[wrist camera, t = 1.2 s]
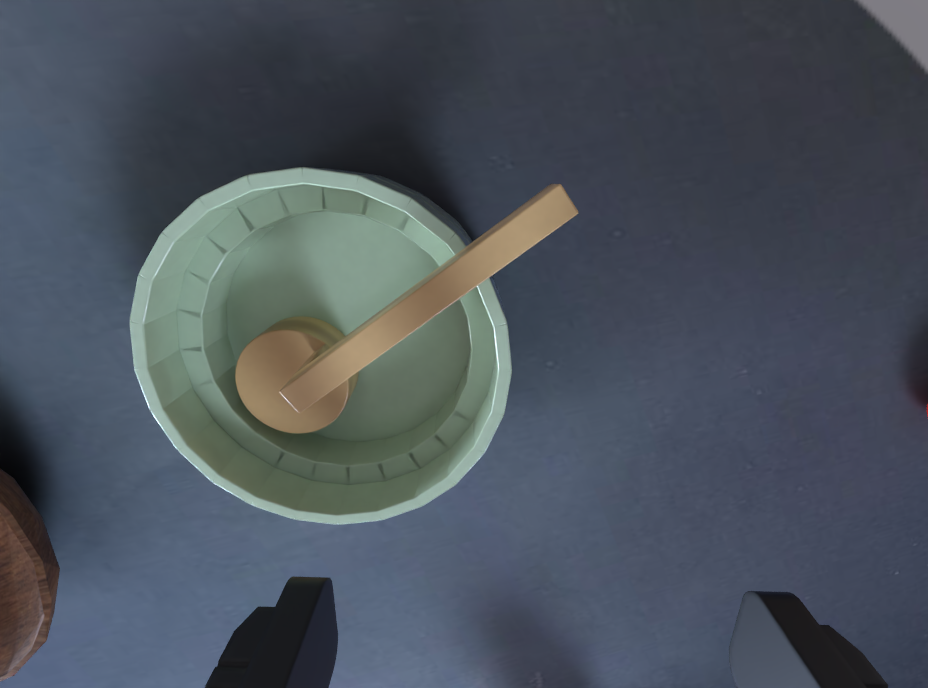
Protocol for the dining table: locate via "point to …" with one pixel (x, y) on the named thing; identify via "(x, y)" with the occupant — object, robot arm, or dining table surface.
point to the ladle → (376, 326)
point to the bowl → (23, 578)
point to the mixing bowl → (343, 306)
